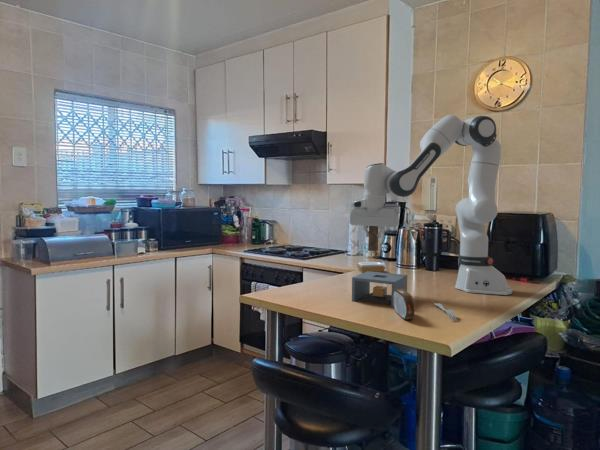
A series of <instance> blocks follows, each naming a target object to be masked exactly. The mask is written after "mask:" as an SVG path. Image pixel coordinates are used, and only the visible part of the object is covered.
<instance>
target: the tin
mask: <svg viewBox="0 0 600 450" xmlns="http://www.w3.org/2000/svg"><path fill="white" fill-rule="evenodd" d="M393 300H394V303H393V304H394V307H393V308H394V312H395V313H396V314H397V315H398V316H399V317H400V318H401V319H402V320H405V321H407V320H409V321H411V320H413V319H414V316H415V303H414V299H413V297H412V294H410V292H408V290H407V291H405V290H404V289H395V290H394V292H393Z"/></svg>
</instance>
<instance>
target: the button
mask: <svg viewBox="0 0 600 450" xmlns="http://www.w3.org/2000/svg"><path fill="white" fill-rule="evenodd" d="M372 293H373V296H380V297H384V296H386V295H388V294H387V293H388V286H383V285H380V286H379V285H376V286H374V287H372Z"/></svg>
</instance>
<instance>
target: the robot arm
mask: <svg viewBox="0 0 600 450" xmlns="http://www.w3.org/2000/svg"><path fill="white" fill-rule="evenodd" d="M454 143H455V144H456V145H459V146H463V147H467V146H468V147H469V146H471V148H472V158H471V161H470V167H469V171H468V176H467V185H468V197H464V198H462V199H461V200H459V201H458V202H457V203H456V205H455V209H454V210H455V214H456V217H457V223H458V224H457V225H458V230H459V237H460V240H459V254H458V259H457V261H458V263H457V266H458V273H457V277H456V282H455V285H454V288H455V289H457V290H461V291H463V292H466V293H473V294H486V295H500V296H502V295H503V296H508V295H509V296H510V295H511V294H513V288H512V287H509V286H508V282H507V279H506V276H505V275H504V274H503V273H502V272H501V271H499V270H498V269H497V268H495V267H494V266H493V264H494V259H493V258H492V257H490V256H489V236H488V234H487V231H486V227H485V224H487V223H489V222H492V221H494V220H495V218H496V217H497V215H498V213H499V212H498V206H497V204H496V183H497V177H498V172H499V168H500V162H501V155H502V154H501V153H502V151H501V150H502V145H501V143H500V141H498V140H497V125H496V123H495V120H494V119H493V118H492V117H490V116H486V115H478V116H474V117H470V118H467V119H465V120H461V119H460V118H459V117H458V116H456V115H454V114H447V115H445V116H444V117H442V118H441V119H439V120H438V121H437V122H436V123H435V124H433V125H432V126H431V128H429V129H428V131H427V132H425V134H424V135H423V136H422V138H421V140H420V142H419V149H420V153H419V154H418V156H416V157H415V159H414V160H413V161H412V162H411V163H410V164H409V166H407V167H406V168H404V169H402V170H399V171H397V170H394V169H392V168H390V167H389V166H387V165H386V164H385V163H383V162H378V163H373V164H368V165H367V166H366V167H365V169H364V175H363V188H364V192H363V199H359V200H356V201H353V202H352V203H351V207H352V208H351V210H350V212H349V224H350V225H351V226H361V227H362V226H363V228H362V229H363V230H364V232H365V238H369V226H378V233H376V235H377V236H376V238H378V239H379V238H380V239H381V238H382V233H383V231H384V229H385V227H386V228H397V227H398V226H399V225H400V218H399V214H400V207H399V205H397V204H396V203H386V196H387V195H390V196H397V197H403V198H404V197H409V196H411V195H412V194H414V192H415V191H416V189H417V187H418V185H419V182H420V180H421V178H422V177H423V176H424V175H425V174H426V172H427V171H428V170H429V169H430V168H431V167H432V165H433V164H435V162H436V161H437V160H438V159H439V158H440V157H441V156H442V155H444V153H445V152H447V151H448V150H449V149H450V147H451V146H452V145H453V144H454ZM386 194H387V195H386ZM374 216H375V217H374Z"/></svg>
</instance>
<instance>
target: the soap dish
mask: <svg viewBox="0 0 600 450" xmlns="http://www.w3.org/2000/svg"><path fill="white" fill-rule="evenodd" d="M356 265H357V268H358V271H359V272H360V273H361V274H362V273H365V272H367V271H370V272H380V273H384V271H385V269H386V267H385V264H384V263H382V262H380V261H360V262H358V264H356Z"/></svg>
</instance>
